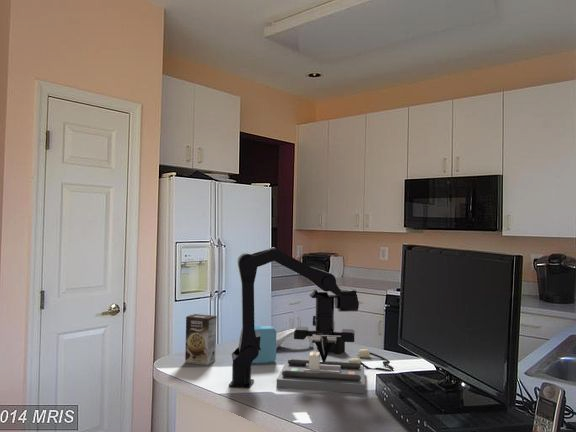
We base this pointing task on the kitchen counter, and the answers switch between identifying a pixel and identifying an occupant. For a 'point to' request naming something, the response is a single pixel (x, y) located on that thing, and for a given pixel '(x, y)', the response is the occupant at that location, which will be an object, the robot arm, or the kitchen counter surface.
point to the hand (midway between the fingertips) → (324, 361)
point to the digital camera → (335, 346)
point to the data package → (266, 344)
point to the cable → (365, 354)
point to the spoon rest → (285, 334)
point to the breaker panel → (322, 381)
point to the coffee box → (200, 339)
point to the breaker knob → (314, 360)
